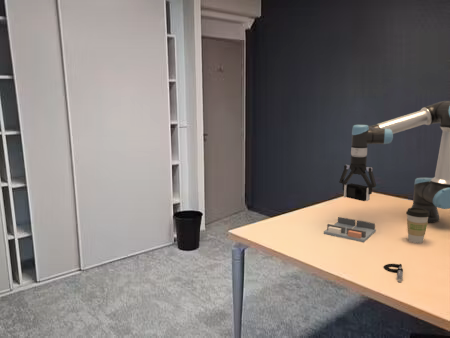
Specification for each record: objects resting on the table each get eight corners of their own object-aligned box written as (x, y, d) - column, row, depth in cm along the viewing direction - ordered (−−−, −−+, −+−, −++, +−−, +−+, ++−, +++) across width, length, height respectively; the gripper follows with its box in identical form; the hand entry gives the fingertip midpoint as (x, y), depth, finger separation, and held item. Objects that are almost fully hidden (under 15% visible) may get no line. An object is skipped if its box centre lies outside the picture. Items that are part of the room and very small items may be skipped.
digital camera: (344, 197, 199) (345, 184, 198) (350, 196, 203) (351, 183, 201) (362, 201, 191) (363, 188, 190) (368, 199, 195) (369, 186, 193)
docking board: (375, 231, 195) (376, 223, 194) (363, 242, 181) (364, 233, 180) (337, 224, 207) (337, 216, 206) (323, 233, 193) (323, 225, 192)
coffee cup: (418, 246, 175) (420, 214, 172) (399, 239, 184) (401, 209, 181) (432, 242, 180) (434, 211, 177) (413, 235, 188) (415, 206, 186)
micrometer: (384, 264, 158) (384, 258, 157) (403, 267, 155) (403, 261, 154) (381, 280, 144) (382, 273, 144) (402, 283, 141) (402, 277, 141)
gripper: (333, 154, 197) (331, 196, 201) (380, 159, 182) (377, 203, 186) (339, 153, 203) (337, 193, 207) (385, 157, 188) (382, 200, 192)
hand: (356, 198), depth 196 cm, fingers closed on digital camera, 11 cm apart
